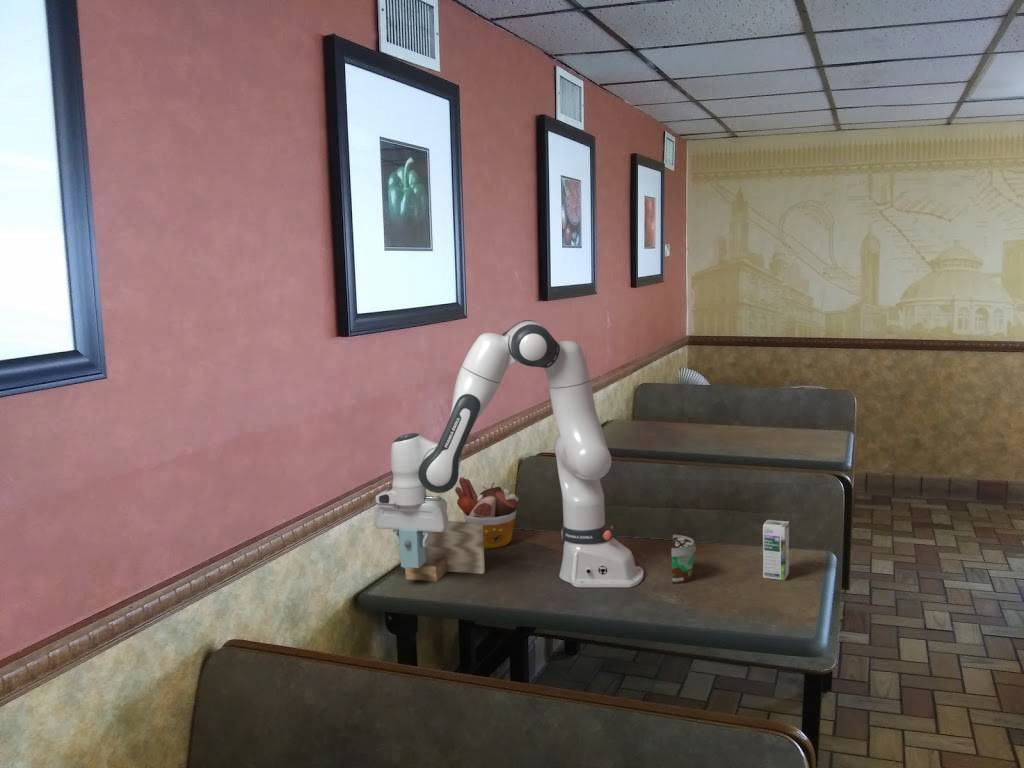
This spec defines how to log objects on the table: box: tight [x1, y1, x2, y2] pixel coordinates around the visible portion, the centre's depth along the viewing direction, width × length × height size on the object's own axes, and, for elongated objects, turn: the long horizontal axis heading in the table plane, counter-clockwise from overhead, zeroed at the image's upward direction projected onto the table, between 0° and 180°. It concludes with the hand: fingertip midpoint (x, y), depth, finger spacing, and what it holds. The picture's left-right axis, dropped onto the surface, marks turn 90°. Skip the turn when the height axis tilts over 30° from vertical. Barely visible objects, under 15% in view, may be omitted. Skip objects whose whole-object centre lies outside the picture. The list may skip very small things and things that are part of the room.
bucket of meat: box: [454, 477, 519, 550], centre depth 282 cm, size 20×16×20 cm
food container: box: [671, 534, 697, 585], centre depth 246 cm, size 12×6×10 cm, turn 168°
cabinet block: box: [399, 529, 426, 568], centre depth 248 cm, size 5×6×10 cm
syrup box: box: [762, 519, 790, 581], centre depth 244 cm, size 6×6×14 cm
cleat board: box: [402, 520, 486, 582], centre depth 256 cm, size 24×10×14 cm, turn 72°
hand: (412, 545), depth 248 cm, fingers closed on cabinet block, 5 cm apart
